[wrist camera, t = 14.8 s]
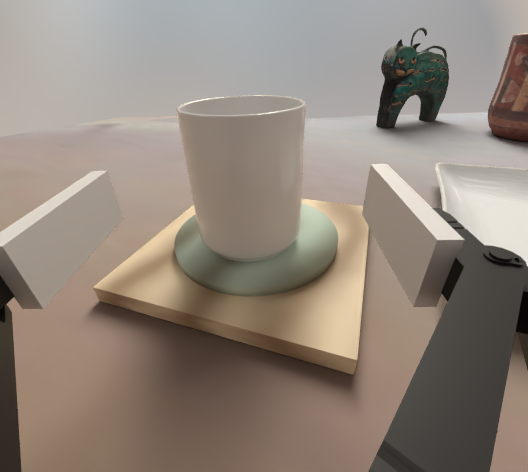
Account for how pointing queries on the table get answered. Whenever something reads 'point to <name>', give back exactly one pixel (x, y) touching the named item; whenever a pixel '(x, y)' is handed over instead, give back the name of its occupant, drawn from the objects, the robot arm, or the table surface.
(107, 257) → the table surface
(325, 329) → the serving board
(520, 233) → the square plate
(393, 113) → the ceramic cat
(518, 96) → the pottery
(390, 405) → the table surface
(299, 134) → the mug
